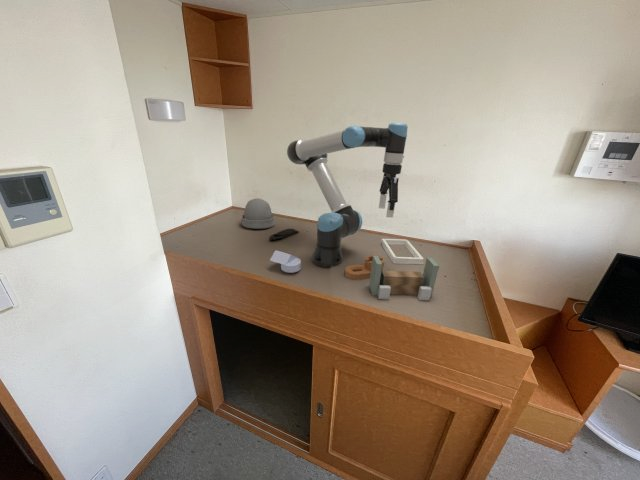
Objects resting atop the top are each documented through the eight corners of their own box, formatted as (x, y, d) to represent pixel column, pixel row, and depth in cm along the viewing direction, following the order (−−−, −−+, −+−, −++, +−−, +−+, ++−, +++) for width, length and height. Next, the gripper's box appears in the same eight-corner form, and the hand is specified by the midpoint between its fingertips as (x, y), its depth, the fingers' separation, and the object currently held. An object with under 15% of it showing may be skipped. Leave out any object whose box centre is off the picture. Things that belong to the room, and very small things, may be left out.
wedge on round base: (269, 266, 124) (293, 274, 118) (269, 253, 121) (294, 260, 116) (281, 259, 131) (304, 266, 126) (281, 246, 129) (304, 253, 123)
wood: (290, 228, 169) (291, 224, 168) (299, 232, 166) (300, 228, 164) (263, 238, 153) (263, 233, 152) (272, 243, 149) (272, 238, 148)
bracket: (376, 267, 129) (378, 254, 126) (385, 276, 122) (387, 262, 119) (341, 271, 123) (343, 258, 121) (349, 281, 116) (351, 267, 113)
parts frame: (393, 263, 133) (394, 258, 132) (381, 243, 156) (381, 238, 155) (422, 264, 134) (424, 259, 133) (406, 244, 157) (407, 239, 156)
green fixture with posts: (373, 299, 104) (378, 267, 99) (367, 282, 115) (371, 253, 110) (434, 300, 105) (442, 268, 100) (422, 283, 117) (429, 254, 111)
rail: (381, 293, 108) (384, 276, 105) (378, 287, 112) (381, 270, 109) (420, 294, 109) (424, 277, 106) (416, 288, 113) (420, 271, 110)
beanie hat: (276, 235, 180) (282, 206, 183) (265, 229, 159) (271, 196, 162) (248, 231, 184) (253, 203, 187) (233, 225, 163) (239, 193, 166)
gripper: (412, 168, 101) (402, 221, 109) (393, 160, 124) (386, 205, 132) (392, 167, 100) (384, 221, 109) (377, 159, 123) (371, 204, 132)
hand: (385, 212), depth 120 cm, fingers open, 13 cm apart
